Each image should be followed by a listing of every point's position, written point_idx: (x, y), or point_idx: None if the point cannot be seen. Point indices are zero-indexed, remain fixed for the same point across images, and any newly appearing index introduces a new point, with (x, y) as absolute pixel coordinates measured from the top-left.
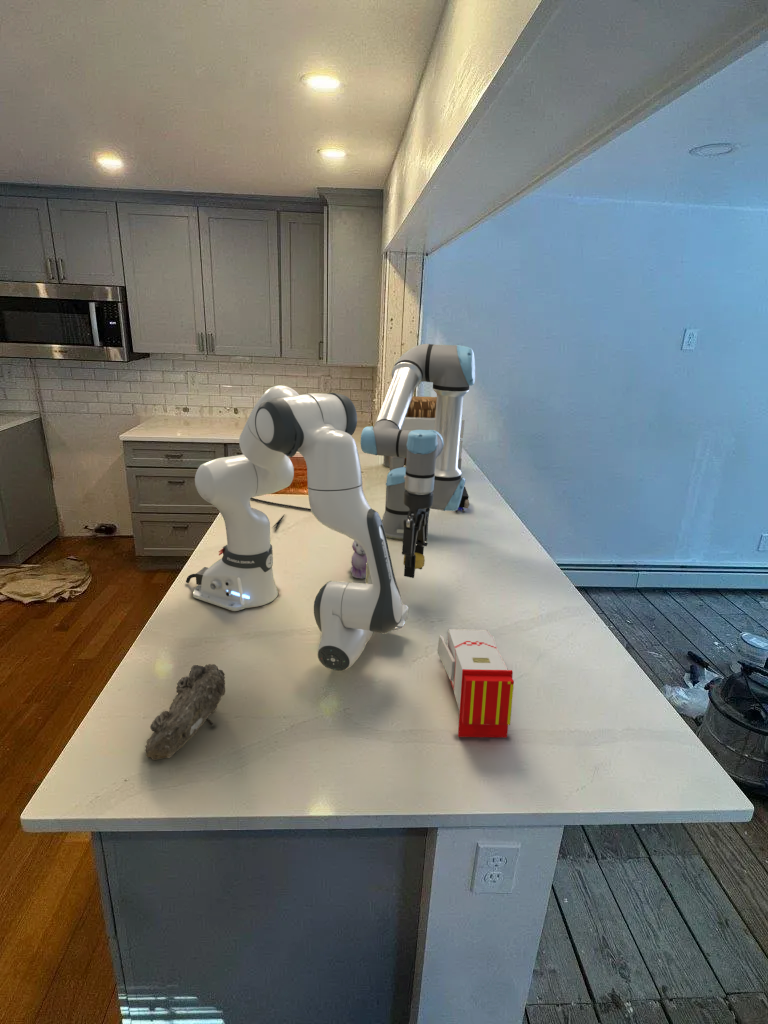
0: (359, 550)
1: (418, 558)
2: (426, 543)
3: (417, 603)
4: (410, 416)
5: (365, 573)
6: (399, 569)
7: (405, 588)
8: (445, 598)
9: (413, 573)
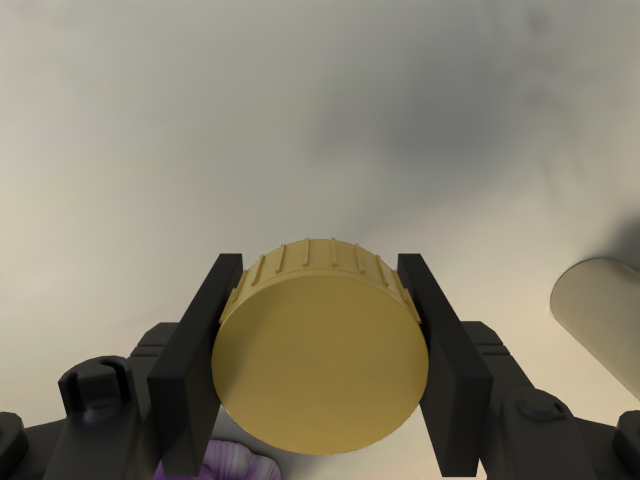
0: None
1: (352, 323)
2: (72, 388)
3: (373, 170)
4: None
5: (255, 473)
6: None
7: None
8: (240, 42)
9: (429, 270)
